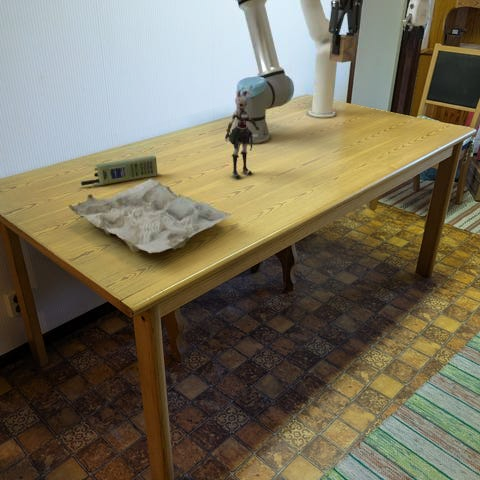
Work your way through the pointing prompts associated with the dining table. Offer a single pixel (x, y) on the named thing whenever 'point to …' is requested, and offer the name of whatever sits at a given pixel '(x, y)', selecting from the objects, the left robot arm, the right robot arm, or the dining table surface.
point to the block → (344, 49)
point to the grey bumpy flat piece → (149, 216)
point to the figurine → (241, 131)
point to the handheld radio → (124, 170)
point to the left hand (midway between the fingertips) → (341, 53)
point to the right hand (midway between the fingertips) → (412, 39)
